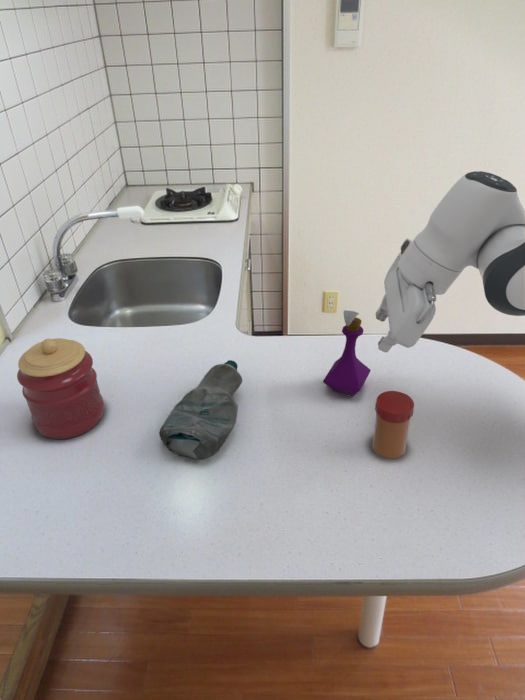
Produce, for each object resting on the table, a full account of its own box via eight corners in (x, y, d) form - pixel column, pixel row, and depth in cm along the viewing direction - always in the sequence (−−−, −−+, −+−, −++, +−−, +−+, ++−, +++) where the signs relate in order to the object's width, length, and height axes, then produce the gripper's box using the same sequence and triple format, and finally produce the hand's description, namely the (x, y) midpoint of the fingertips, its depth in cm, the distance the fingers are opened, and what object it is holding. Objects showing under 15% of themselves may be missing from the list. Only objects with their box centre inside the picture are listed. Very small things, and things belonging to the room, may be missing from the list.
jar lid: (406, 398, 90) (407, 389, 88) (417, 422, 85) (419, 413, 83) (371, 400, 89) (372, 391, 88) (380, 424, 84) (381, 415, 83)
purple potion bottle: (334, 373, 110) (339, 297, 100) (369, 382, 107) (377, 305, 97) (322, 394, 104) (325, 315, 94) (358, 404, 101) (366, 324, 91)
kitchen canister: (100, 389, 108) (81, 314, 98) (110, 428, 98) (90, 350, 88) (33, 406, 104) (6, 330, 94) (36, 449, 94) (7, 369, 84)
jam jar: (399, 434, 94) (406, 392, 89) (409, 457, 89) (416, 414, 84) (369, 437, 94) (373, 395, 88) (376, 459, 89) (382, 416, 84)
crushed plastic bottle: (218, 472, 88) (266, 382, 107) (211, 440, 84) (262, 353, 103) (150, 459, 92) (208, 375, 111) (140, 429, 88) (202, 347, 107)
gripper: (455, 311, 75) (401, 377, 83) (436, 250, 91) (392, 310, 99) (417, 293, 74) (366, 361, 82) (404, 234, 90) (362, 296, 98)
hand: (380, 332), depth 90 cm, fingers open, 8 cm apart
